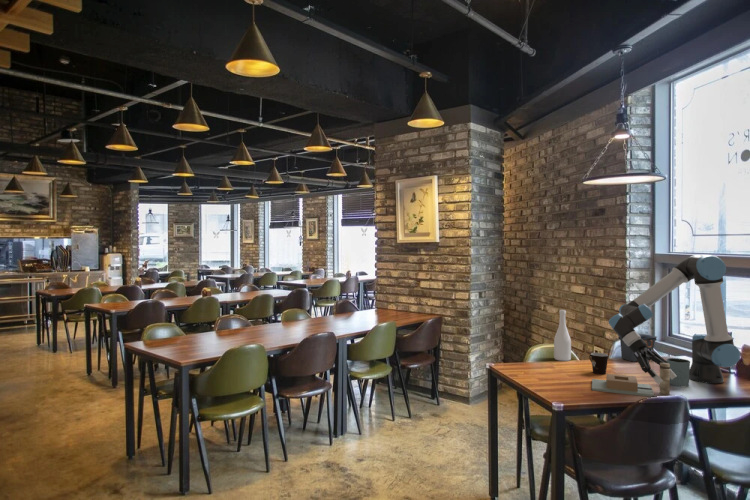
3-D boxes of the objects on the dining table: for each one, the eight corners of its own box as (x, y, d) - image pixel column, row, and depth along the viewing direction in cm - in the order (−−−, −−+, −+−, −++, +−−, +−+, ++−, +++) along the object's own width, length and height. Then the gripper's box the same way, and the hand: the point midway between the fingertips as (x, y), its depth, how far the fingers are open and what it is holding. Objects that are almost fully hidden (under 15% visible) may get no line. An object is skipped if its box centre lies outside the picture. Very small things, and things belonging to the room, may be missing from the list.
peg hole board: (650, 386, 242) (650, 376, 242) (654, 397, 226) (654, 386, 225) (592, 380, 253) (592, 371, 253) (591, 390, 236) (591, 379, 236)
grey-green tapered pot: (678, 387, 240) (678, 363, 240) (661, 382, 250) (661, 358, 250) (695, 386, 243) (695, 361, 243) (677, 380, 253) (677, 357, 253)
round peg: (669, 392, 232) (669, 363, 232) (670, 395, 228) (670, 365, 228) (659, 391, 233) (659, 362, 233) (660, 394, 230) (660, 364, 230)
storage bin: (640, 355, 310) (640, 332, 310) (663, 360, 296) (663, 337, 295) (614, 358, 302) (615, 335, 302) (636, 364, 288) (636, 339, 288)
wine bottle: (571, 361, 294) (571, 311, 293) (554, 360, 297) (554, 310, 296) (570, 358, 303) (570, 309, 302) (553, 357, 306) (554, 308, 305)
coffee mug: (610, 375, 263) (610, 356, 263) (592, 374, 265) (592, 355, 265) (604, 369, 274) (604, 351, 274) (587, 369, 276) (587, 351, 276)
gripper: (642, 344, 251) (673, 380, 239) (616, 350, 236) (648, 389, 224) (653, 335, 247) (685, 371, 235) (627, 340, 232) (660, 380, 220)
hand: (667, 380), depth 229 cm, fingers open, 13 cm apart
